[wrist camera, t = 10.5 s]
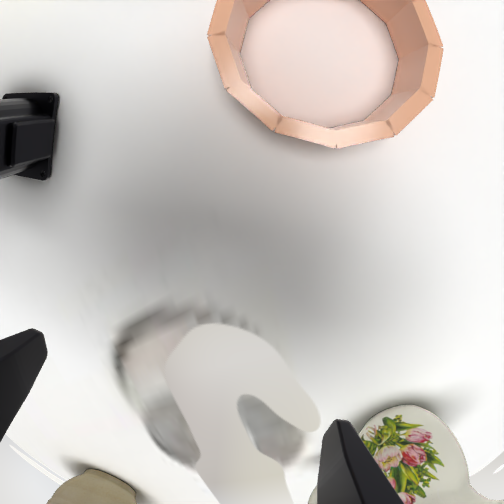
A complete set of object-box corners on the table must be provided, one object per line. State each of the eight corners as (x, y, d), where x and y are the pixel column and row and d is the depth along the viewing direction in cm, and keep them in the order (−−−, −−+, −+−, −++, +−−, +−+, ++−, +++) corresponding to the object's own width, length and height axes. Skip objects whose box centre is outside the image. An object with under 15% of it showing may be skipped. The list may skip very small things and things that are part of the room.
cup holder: (211, 116, 17) (188, 114, 13) (251, -36, 13) (241, -71, 9) (386, 163, 17) (413, 175, 13) (420, 11, 13) (450, -12, 9)
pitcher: (280, 436, 28) (269, 562, 15) (454, 355, 22) (514, 486, 9) (331, 474, 30) (332, 573, 18) (472, 411, 25) (510, 511, 12)
